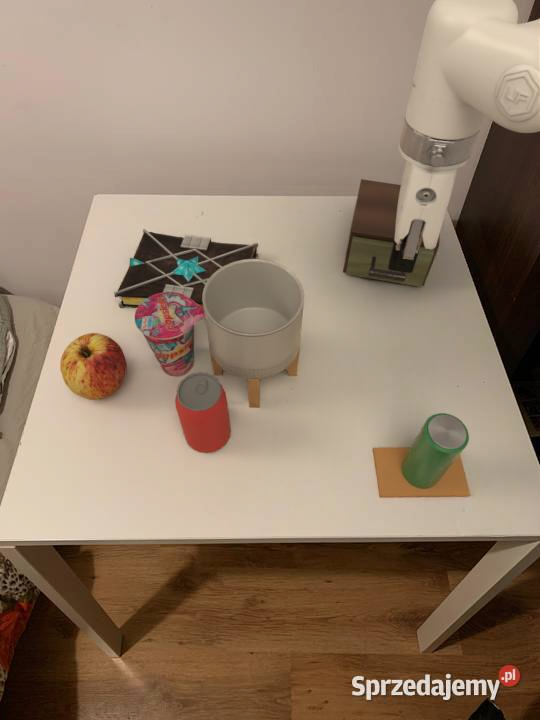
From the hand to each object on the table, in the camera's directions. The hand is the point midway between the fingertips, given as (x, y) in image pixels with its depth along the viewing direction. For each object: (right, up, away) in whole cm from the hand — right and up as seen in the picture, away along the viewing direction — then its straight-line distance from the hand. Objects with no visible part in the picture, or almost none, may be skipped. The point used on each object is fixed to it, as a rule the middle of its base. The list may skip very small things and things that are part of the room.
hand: (400, 267), depth 66 cm
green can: (+3, -28, +1) cm, 28 cm away
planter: (-20, -14, +11) cm, 27 cm away
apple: (-43, -17, +9) cm, 47 cm away
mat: (+3, -28, +2) cm, 28 cm away
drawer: (+4, +5, +24) cm, 25 cm away
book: (-32, +1, +22) cm, 39 cm away
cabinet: (+4, +8, +27) cm, 28 cm away
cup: (-32, -13, +12) cm, 36 cm away
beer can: (-26, -23, +5) cm, 36 cm away
